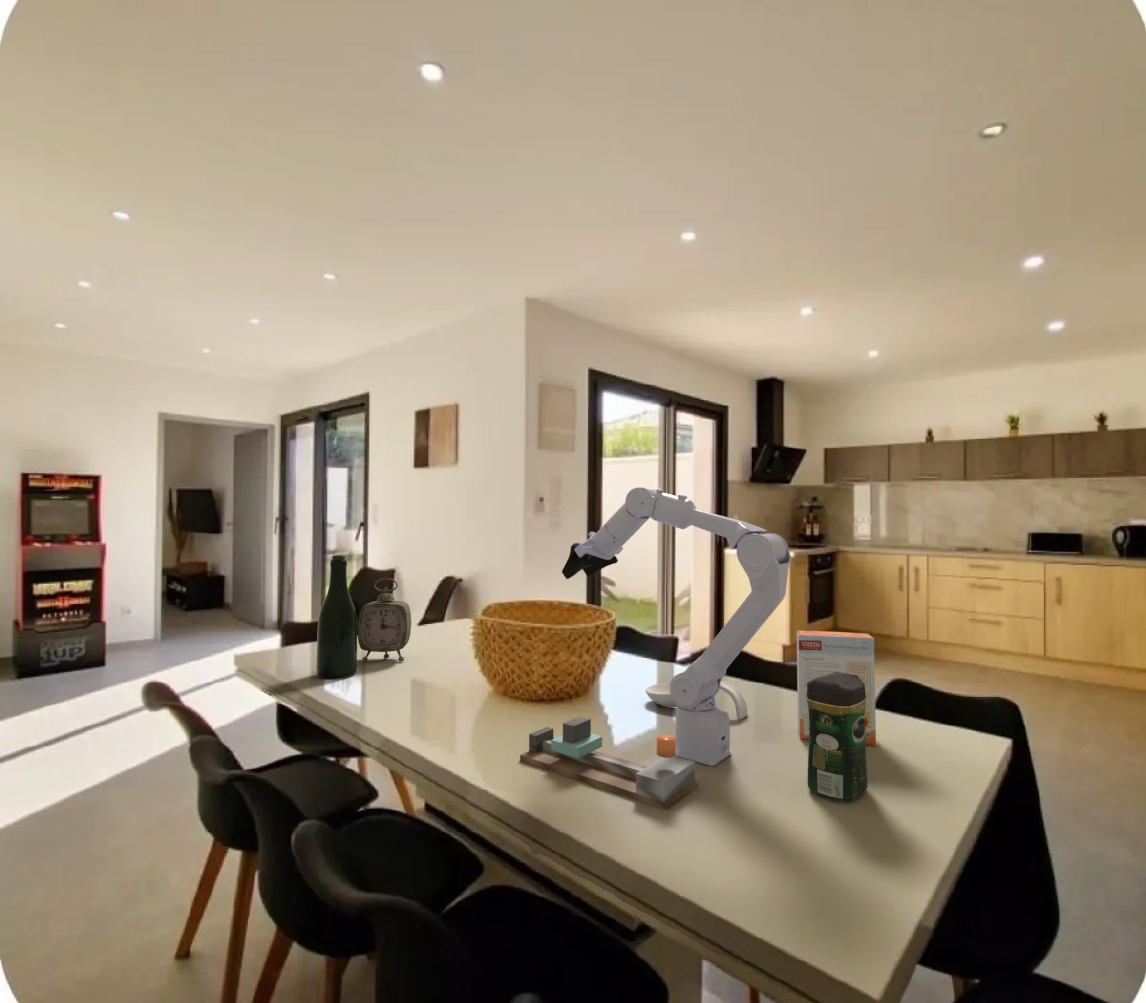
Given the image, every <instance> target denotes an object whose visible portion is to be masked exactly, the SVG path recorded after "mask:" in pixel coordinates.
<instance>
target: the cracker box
mask: <svg viewBox="0 0 1146 1003" xmlns="http://www.w3.org/2000/svg"><path fill="white" fill-rule="evenodd" d="M875 665H876V664H875V638H874V637H873V636H872V635H871V634H869V633H866V632H865V633H863V632H843V631H822V630H821V631H820V630H796V670H797V671H796V679H797V682H796V684H797V688H796V689H797V732H798V735H799V738H800V739H801V740H808V741H809V710H808V704H807V682H808V681H810V680H813V679H815V678H818V677H820V676H823V675H827V674H830V673H833V672H834V671H836V672H842V673H847V674H852V675H857V676H858V677H859V678H860V679H861V680H862V681H863V683H864V684H865V693H866V706H865V743H866V746H877V742H876V741H877V737H876V736H877V735H876V734H877V732H876V730H877V729H876V724H877V723H876V720H877V719H876V676H875V675H876V673H875V671H876V670H875V668H876V666H875Z"/></svg>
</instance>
